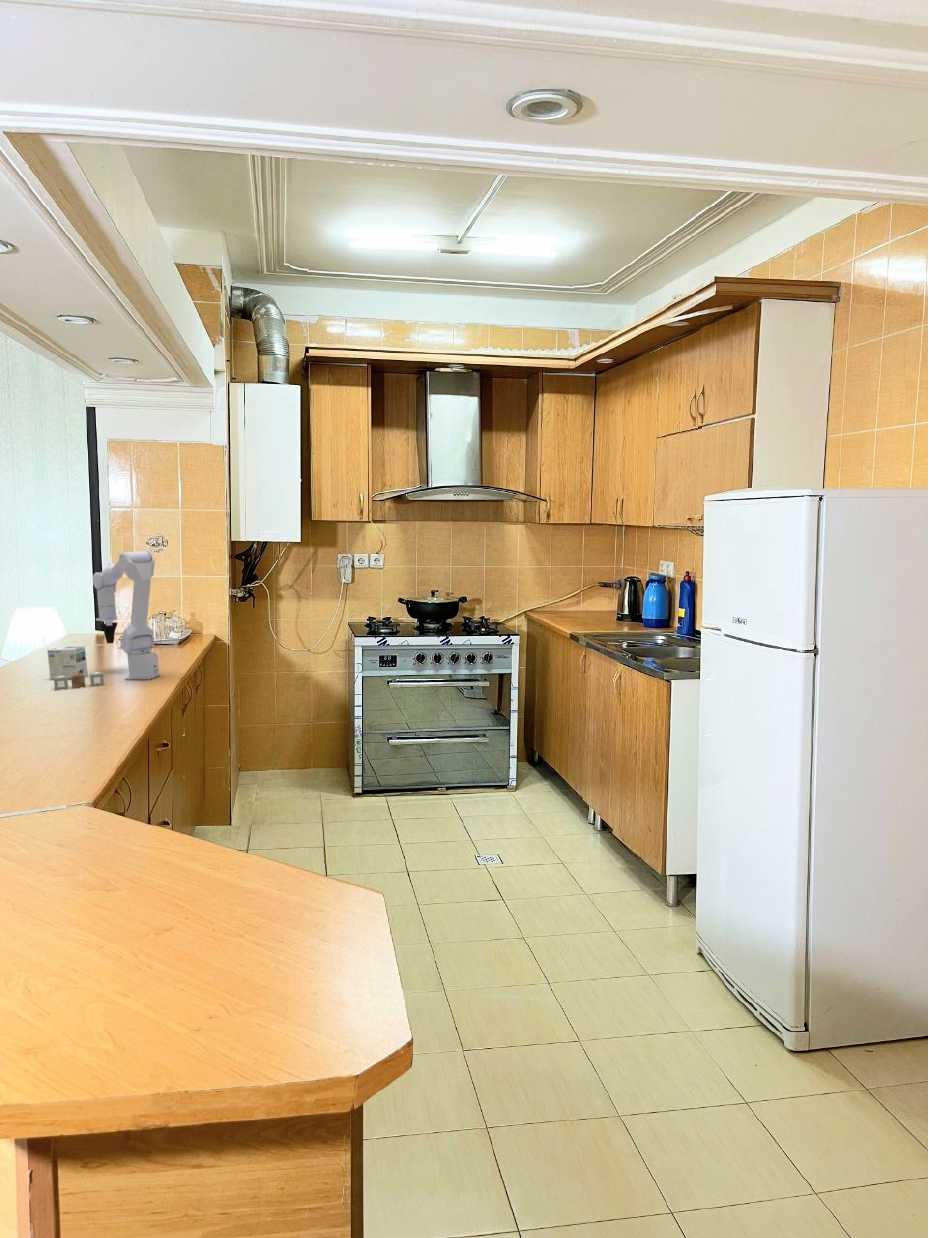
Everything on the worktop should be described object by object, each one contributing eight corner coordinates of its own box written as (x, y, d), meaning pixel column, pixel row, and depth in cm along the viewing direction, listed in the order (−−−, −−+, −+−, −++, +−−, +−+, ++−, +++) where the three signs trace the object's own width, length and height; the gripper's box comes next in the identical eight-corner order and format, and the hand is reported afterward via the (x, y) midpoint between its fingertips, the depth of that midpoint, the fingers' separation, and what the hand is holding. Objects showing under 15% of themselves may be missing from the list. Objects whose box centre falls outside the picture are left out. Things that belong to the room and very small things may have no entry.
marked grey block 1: (68, 687, 296) (66, 674, 296) (68, 689, 293) (67, 677, 292) (54, 688, 295) (53, 676, 294) (54, 690, 291) (53, 678, 290)
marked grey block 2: (103, 683, 301) (102, 671, 300) (104, 685, 297) (102, 673, 296) (90, 684, 299) (89, 672, 298) (91, 687, 295) (89, 674, 295)
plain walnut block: (85, 685, 298) (84, 673, 298) (85, 687, 295) (84, 675, 294) (72, 686, 297) (71, 675, 296) (72, 688, 293) (71, 677, 292)
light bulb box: (88, 675, 315) (85, 645, 314) (78, 679, 308) (75, 649, 307) (60, 676, 316) (57, 646, 315) (49, 679, 310) (46, 649, 308)
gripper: (94, 604, 323) (97, 641, 325) (95, 608, 310) (98, 647, 312) (115, 603, 326) (118, 639, 328) (117, 606, 313) (120, 645, 314)
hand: (110, 643), depth 320 cm, fingers closed
